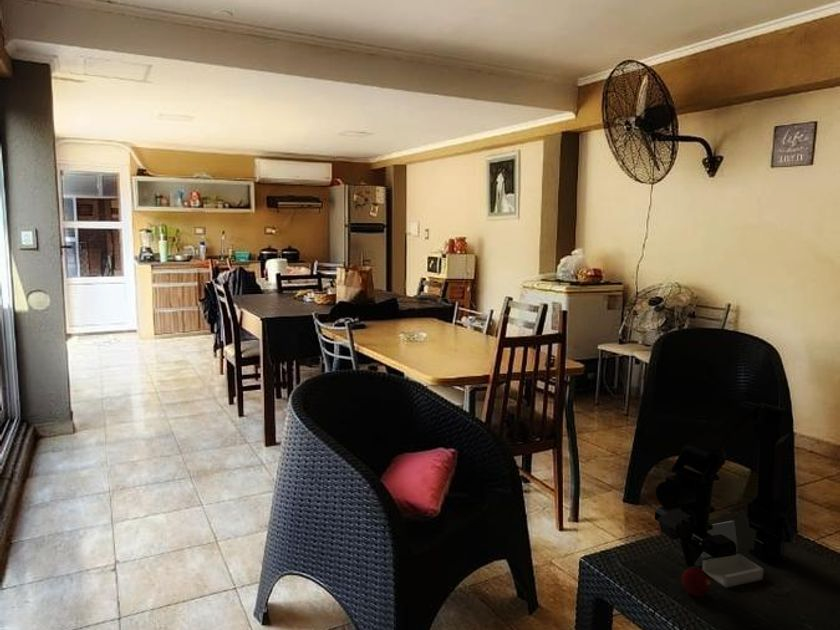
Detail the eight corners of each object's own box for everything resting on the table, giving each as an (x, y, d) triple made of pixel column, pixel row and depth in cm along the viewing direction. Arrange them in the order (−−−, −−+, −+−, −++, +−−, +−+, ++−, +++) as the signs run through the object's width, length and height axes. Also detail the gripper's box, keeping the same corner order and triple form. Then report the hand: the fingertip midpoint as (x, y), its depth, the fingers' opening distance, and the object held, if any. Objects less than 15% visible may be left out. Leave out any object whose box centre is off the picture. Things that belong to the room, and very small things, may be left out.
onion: (693, 597, 138) (718, 602, 130) (671, 588, 137) (696, 592, 130) (697, 571, 140) (723, 574, 133) (676, 562, 139) (701, 564, 132)
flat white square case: (726, 556, 152) (729, 533, 151) (762, 579, 142) (765, 555, 141) (691, 563, 148) (693, 540, 147) (726, 587, 138) (728, 563, 137)
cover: (737, 550, 148) (733, 549, 149) (734, 521, 149) (729, 520, 150) (703, 557, 145) (699, 556, 146) (700, 527, 145) (696, 526, 147)
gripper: (638, 486, 140) (632, 549, 142) (700, 524, 123) (692, 595, 125) (677, 481, 144) (670, 543, 146) (742, 517, 127) (733, 586, 129)
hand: (689, 565), depth 136 cm, fingers closed
